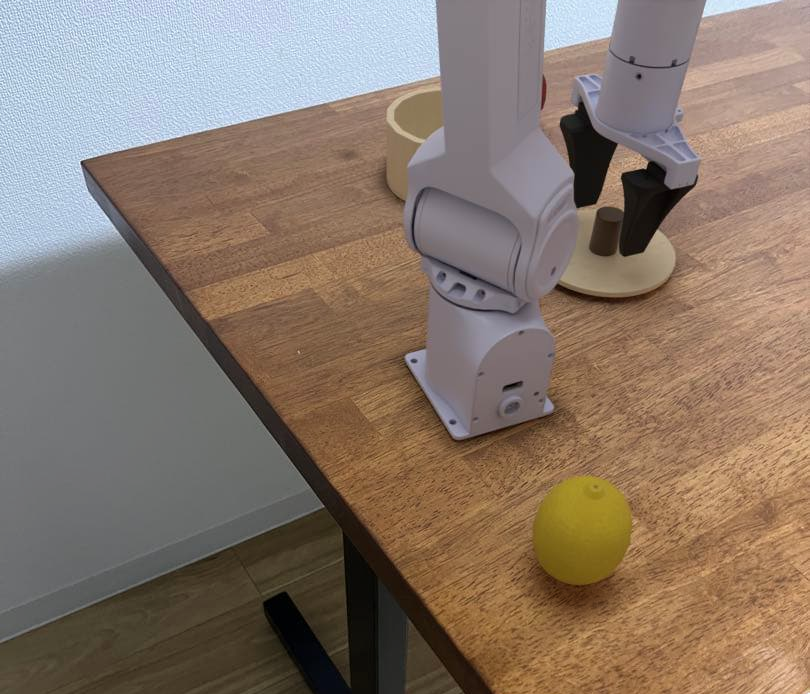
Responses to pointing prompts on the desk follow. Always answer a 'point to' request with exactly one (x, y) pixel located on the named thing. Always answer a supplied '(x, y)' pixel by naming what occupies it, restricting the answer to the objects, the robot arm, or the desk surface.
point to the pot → (410, 132)
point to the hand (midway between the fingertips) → (607, 227)
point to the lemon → (582, 530)
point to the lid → (614, 258)
